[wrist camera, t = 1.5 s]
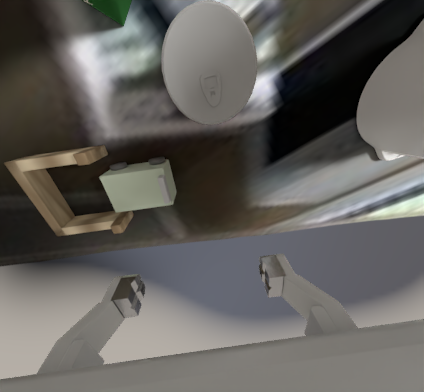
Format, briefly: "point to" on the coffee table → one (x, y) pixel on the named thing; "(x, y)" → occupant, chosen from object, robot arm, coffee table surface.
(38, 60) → the coffee table surface
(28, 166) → the frame
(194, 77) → the canned food
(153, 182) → the pale green box
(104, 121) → the coffee table surface
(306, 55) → the coffee table surface
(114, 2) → the milk carton
